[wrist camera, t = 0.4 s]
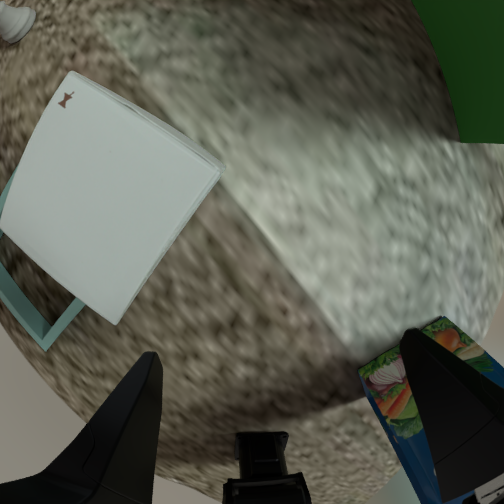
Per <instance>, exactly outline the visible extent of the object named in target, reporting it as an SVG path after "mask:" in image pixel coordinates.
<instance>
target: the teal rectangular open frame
mask: <svg viewBox="0 0 504 504" xmlns="http://www.w3.org/2000/svg"><path fill="white" fill-rule="evenodd" d="M18 165H19V164H18ZM17 168H18V166H17ZM17 168H16V169H15V171H14V173H13V174H12V176H11V178H10V180H9V181H8V183H7V185H6V187H5V189H4V191H3V193H2V194H1V196H0V219H1V215H2V211H3V208H4V204H5V202H6V198H7V195H8V192H9V189H10V186H11V184H12V181H13V178H14V175H15V173H16V170H17ZM2 234H3V231H2V230H1V229H0V239H1V236H2ZM0 298H1V300H2V301H3V302H4V304H5V305H6V306H7V308H8V309H9V310H10V311H11V313H12V314H13V315H14V316H15V318H16V319H17V320H18V321H19V323H20V324H21V325H22V326H23V327H24V328H25V330H26V331H27V332H28V333H29V334H30V335H31V336H32V338H33V339H34V340H35V341H36V342H37V343H38V344H39V345H40V346H41V347H42V348H43V349H44V350H45V352H46V351H47V349H48V348H49V347H50V346H51V344H52V343H53V342H54V341H55V340H56V338H57V337H58V336H59V335H60V334H61V332H62V331H63V330H64V329H65V328H66V327H67V325H68V324H69V323H70V322H71V321H72V320H73V318H74V317H75V316H76V315H77V314H78V313H79V312H80V310H81V309H82V308H83V307H84V306H85V305H86V304H85V303H83V302H82V301H81V300H80V299H78V298H77V297H76V298H75V299H74V301H73V302H72V303H71V304H70V305H69V307H68V308H67V309H66V310H65V312H64V313H63V314H62V315H61V317H60V318H59V319H58V320H57V322H56V323H55V324H54V325H53V327H52V326H51V325H50V324H49V323H48V322H47V321H46V320H45V319H44V317H43V316H42V315H41V314H40V313H39V312H38V311H37V309H36V308H35V307H34V306H33V305H32V303H31V302H30V301H29V300H28V298H27V297H26V296H25V295H24V293H23V292H22V291H21V290H20V288H19V287H18V286H17V284H16V283H15V282H14V280H13V279H12V278H11V276H10V275H9V273H8V272H7V271H6V269H5V268H4V266H3V265H2V263H1V262H0Z"/></svg>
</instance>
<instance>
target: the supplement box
mask: <svg viewBox="0 0 504 504" xmlns="http://www.w3.org/2000/svg"><path fill="white" fill-rule="evenodd" d="M225 168H226V166H225V165H224V164H223V163H221V162H220V161H219V160H218V159H216V158H215V157H214V156H213V155H211V154H210V153H209V152H207V151H206V150H205V149H203V148H202V147H201V146H199V145H198V144H197V143H195V142H194V141H193V140H191V139H190V138H188V137H187V136H185V135H184V134H182V133H181V132H179V131H178V130H176V129H175V128H173V127H172V126H170V125H168V124H167V123H165V122H163V121H162V120H160V119H158V118H157V117H155V116H153V115H152V114H150V113H149V112H147V111H145V110H143V109H142V108H140V107H138V106H137V105H135V104H133V103H131V102H130V101H128V100H126V99H124V98H123V97H121V96H119V95H117V94H116V93H114V92H112V91H110V90H108V89H107V88H105V87H103V86H101V85H99V84H97V83H96V82H94V81H92V80H90V79H88V78H86V77H84V76H82V75H80V74H78V73H76V72H74V71H70V72H68V74H67V76H66V77H65V79H64V80H63V82H62V83H61V85H60V86H59V88H58V89H57V91H56V92H55V94H54V95H53V97H52V99H51V100H50V102H49V104H48V105H47V107H46V109H45V111H44V112H43V114H42V116H41V118H40V120H39V122H38V124H37V126H36V128H35V130H34V132H33V134H32V136H31V138H30V140H29V142H28V144H27V146H26V149H25V151H24V153H23V156H22V158H21V160H20V163H19V165H18V168H17V170H16V173H15V175H14V178H13V181H12V184H11V186H10V189H9V192H8V195H7V198H6V202H5V204H4V208H3V211H2V215H1V219H0V229H1V230H2V231H3V232H4V233H5V234H6V235H7V236H8V237H9V238H10V239H11V240H12V241H13V242H14V243H15V244H16V245H17V246H18V247H19V248H20V249H22V250H23V251H24V252H25V253H26V254H27V255H28V256H29V257H30V258H31V259H32V260H33V261H34V262H35V263H37V264H38V265H39V266H40V267H41V268H42V269H43V270H44V271H45V272H47V273H48V274H49V275H50V276H51V277H52V278H54V279H55V280H56V281H57V282H58V283H60V284H61V285H62V286H63V287H64V288H66V289H67V290H68V291H69V292H71V293H72V294H73V295H74V296H76V297H77V298H78V299H80V300H81V301H82V302H83V303H85V304H86V305H87V306H89V307H90V308H91V309H93V310H94V311H95V312H97V313H98V314H100V315H101V316H102V317H104V318H105V319H106V320H108V321H109V322H111V323H112V324H114V325H117V324H118V322H119V321H120V319H121V318H122V316H123V315H124V313H125V312H126V310H127V309H128V307H129V306H130V304H131V303H132V301H133V300H134V298H135V297H136V295H137V294H138V292H139V291H140V289H141V288H142V286H143V285H144V284H145V282H146V281H147V279H148V278H149V276H150V275H151V273H152V272H153V270H154V269H155V268H156V266H157V265H158V263H159V262H160V260H161V259H162V257H163V256H164V255H165V253H166V252H167V250H168V249H169V247H170V246H171V245H172V243H173V242H174V240H175V239H176V238H177V236H178V235H179V233H180V232H181V230H182V229H183V228H184V226H185V225H186V223H187V222H188V221H189V219H190V218H191V216H192V215H193V214H194V212H195V211H196V209H197V208H198V207H199V205H200V204H201V202H202V201H203V200H204V198H205V197H206V195H207V194H208V193H209V191H210V190H211V189H212V188H213V186H214V185H215V184H216V182H217V181H218V180H219V178H220V177H221V175H222V173H223V172H224V171H225Z"/></svg>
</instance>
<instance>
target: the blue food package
mask: <svg viewBox="0 0 504 504" xmlns="http://www.w3.org/2000/svg"><path fill="white" fill-rule="evenodd" d="M421 331H422V332H423V333H425V334H426V335H428V336H429V337H431V338H432V339H433V340H435V341H436V342H438V343H439V344H441V345H442V346H444V347H445V348H446V349H448V350H449V351H451V352H452V353H454V354H455V355H456V356H458V357H459V358H461V359H462V360H463V361H465V362H466V363H468V364H469V365H470V366H472V367H473V368H475V369H476V370H477V371H479V372H480V373H482V374H483V375H484V376H486V377H487V378H489V379H490V380H491V381H493V382H494V383H496V384H497V385H499V386H501V387H502V388H504V368H503V367H502V366H501V365H500V364H499V363H498V362H497V361H496V360H495V359H493V358H492V357H491V356H490V355H489V354H488V353H487V352H486V351H485V350H484V349H483V348H481V347H480V346H479V345H478V344H477V343H476V342H475V341H474V340H472V339H471V338H470V337H469V336H468V335H467V334H466V333H464V332H463V331H462V330H461V329H460V328H458V327H457V326H456V325H455V324H454V323H453V322H451V321H450V320H449V319H448V318H447V317H445V316H443V317H442V318H441V319H439V320H438V321H436V322H435V323H433V324H431V325H428V326H427V327H425V328H424V329H422V330H421ZM358 373H359V376H360V379H361V382H362V385H363V388H364V391H365V394H366V396H367V399H368V401H369V402H370V404H371V406H372V408H373V410H374V412H375V414H376V416H377V417H378V419H379V421H380V423H381V425H382V427H383V429H384V431H385V433H386V435H387V437H388V438H389V440H390V442H391V444H392V446H393V448H394V450H395V452H396V454H397V456H398V458H399V460H400V462H401V464H402V466H403V468H404V470H405V472H406V474H407V476H408V478H409V480H410V482H411V484H412V486H413V488H414V490H415V492H416V494H417V496H418V498H419V500H420V503H421V504H443V503H442V500H441V495H440V490H439V486H438V481H437V477H436V473H435V469H434V464H433V460H432V456H431V453H430V449H429V445H428V442H427V438H426V435H425V432H424V428H423V425H422V422H421V419H420V415H419V412H418V409H417V406H416V403H415V400H414V398H413V395H412V392H411V389H410V386H409V383H408V380H407V376H406V372H405V368H404V365H403V361H402V357H401V354H400V350H399V345H397V346H396V347H394V348H393V349H391V350H389V351H387V352H385V353H383V354H382V355H380V356H379V357H377V358H376V359H374V360H373V361H371V362H370V363H368V364H367V365H366V366H364V367H362V368H360V369H358ZM473 493H474V490H473V491H470V492H468V493H466V494H464V495H462V496H460V497H458V498H456V499H453V500H451V501H449V502H446V503H444V504H462V502H463V500H464V499H465V498H467V497H468V496H470V495H471V494H473Z"/></svg>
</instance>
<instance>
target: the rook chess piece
mask: <svg viewBox="0 0 504 504" xmlns="http://www.w3.org/2000/svg"><path fill="white" fill-rule="evenodd" d="M35 17H36V12H35V10H33V9H30V8H29V7H22V8H21V7H18V8H14V7H11V6H8V5H6V4H5V1H1V2H0V34H2V38H3V40H5V41H8V43H14V42H16V41H19V40H20V39H22V38H23V37H24V36H25V35H26V34H27V33H28V32H29V30H30V29H31V27H32V26H33V24H34V22H35Z"/></svg>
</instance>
